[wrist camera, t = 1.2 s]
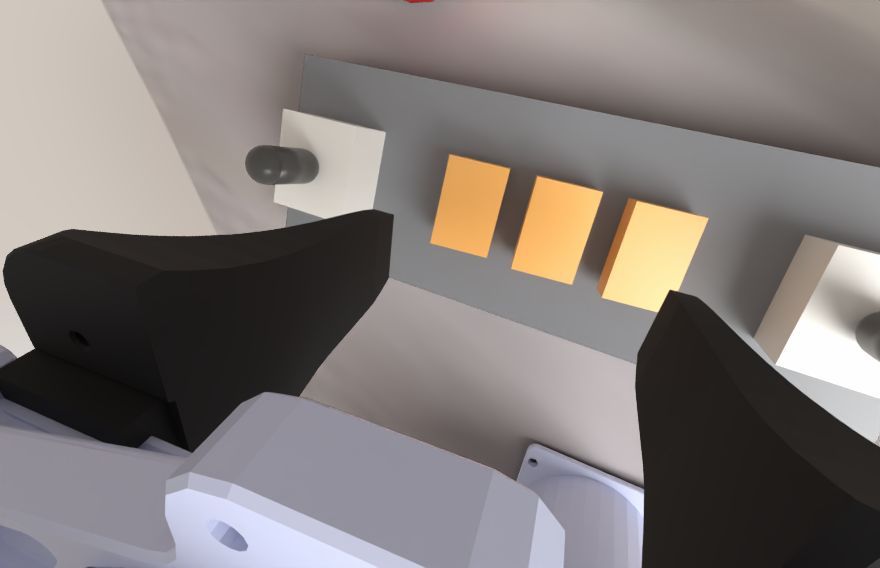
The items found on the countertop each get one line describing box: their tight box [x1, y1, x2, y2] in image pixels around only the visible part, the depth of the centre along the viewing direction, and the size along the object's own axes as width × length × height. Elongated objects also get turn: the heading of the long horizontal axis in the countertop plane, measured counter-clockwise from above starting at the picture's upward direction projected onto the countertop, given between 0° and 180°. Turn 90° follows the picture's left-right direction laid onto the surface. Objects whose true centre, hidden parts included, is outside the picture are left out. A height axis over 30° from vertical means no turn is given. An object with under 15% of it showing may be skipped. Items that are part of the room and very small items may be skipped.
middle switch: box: [511, 175, 603, 285], centre depth 17 cm, size 4×2×1 cm, turn 168°
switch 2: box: [597, 198, 709, 312], centre depth 16 cm, size 4×2×1 cm, turn 168°
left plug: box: [245, 109, 386, 219], centre depth 18 cm, size 4×4×6 cm
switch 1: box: [430, 154, 511, 258], centre depth 18 cm, size 4×2×1 cm, turn 168°
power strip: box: [286, 54, 880, 443], centre depth 20 cm, size 9×26×4 cm, turn 78°
